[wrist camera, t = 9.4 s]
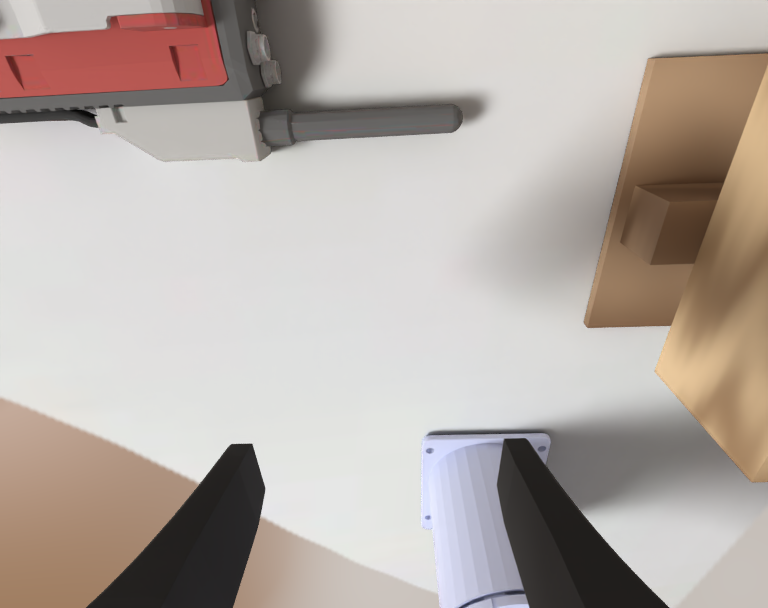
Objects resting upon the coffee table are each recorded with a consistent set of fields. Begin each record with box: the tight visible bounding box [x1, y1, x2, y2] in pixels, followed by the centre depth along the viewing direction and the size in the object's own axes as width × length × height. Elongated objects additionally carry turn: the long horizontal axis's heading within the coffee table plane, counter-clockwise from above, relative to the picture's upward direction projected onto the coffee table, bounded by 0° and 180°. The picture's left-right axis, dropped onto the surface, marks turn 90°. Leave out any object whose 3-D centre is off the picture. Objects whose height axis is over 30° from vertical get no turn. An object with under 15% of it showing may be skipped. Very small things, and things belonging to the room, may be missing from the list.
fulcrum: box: [584, 53, 768, 328], centre depth 17 cm, size 12×8×3 cm, turn 2°
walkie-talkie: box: [0, 0, 463, 162], centre depth 14 cm, size 9×4×20 cm
